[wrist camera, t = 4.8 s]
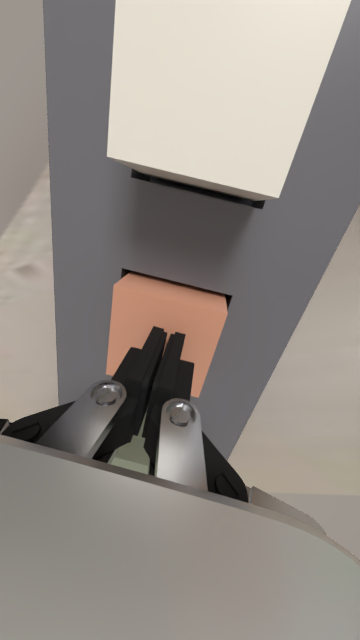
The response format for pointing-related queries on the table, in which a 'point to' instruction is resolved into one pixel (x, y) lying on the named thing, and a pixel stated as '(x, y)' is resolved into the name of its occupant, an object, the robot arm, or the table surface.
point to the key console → (189, 221)
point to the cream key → (217, 88)
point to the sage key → (133, 454)
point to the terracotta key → (166, 320)
